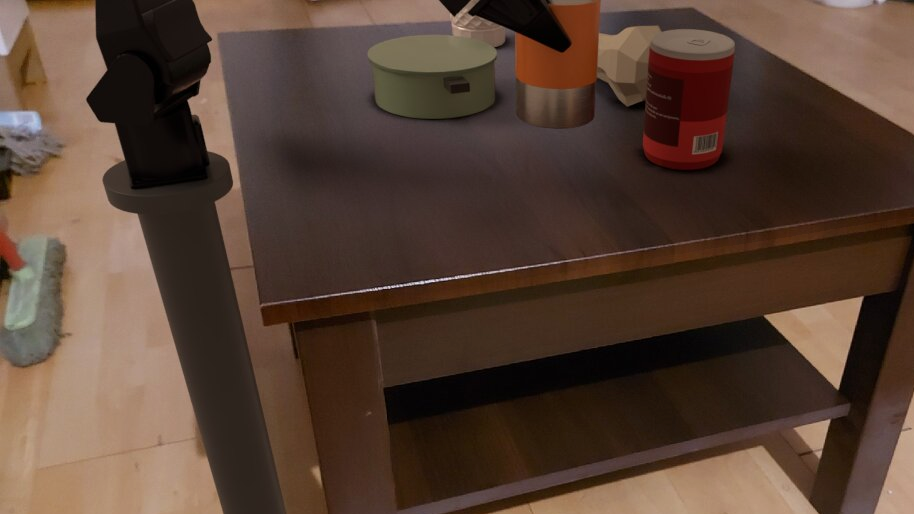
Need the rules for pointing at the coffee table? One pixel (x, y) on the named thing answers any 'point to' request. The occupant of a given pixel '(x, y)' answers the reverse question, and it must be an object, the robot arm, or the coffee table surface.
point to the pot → (433, 76)
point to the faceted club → (626, 62)
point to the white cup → (477, 27)
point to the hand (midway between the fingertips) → (574, 36)
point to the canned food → (687, 97)
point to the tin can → (560, 70)
